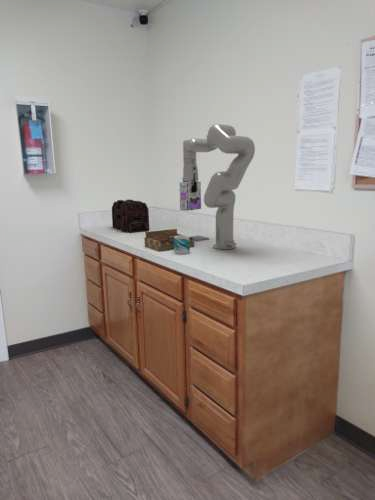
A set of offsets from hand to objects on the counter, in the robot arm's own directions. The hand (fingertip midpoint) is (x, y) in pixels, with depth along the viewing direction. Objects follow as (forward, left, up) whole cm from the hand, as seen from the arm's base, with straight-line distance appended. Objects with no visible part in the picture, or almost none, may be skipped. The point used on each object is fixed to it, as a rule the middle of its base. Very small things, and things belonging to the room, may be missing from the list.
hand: (190, 192), depth 236 cm
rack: (-10, +21, -29) cm, 37 cm away
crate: (+65, +12, -29) cm, 72 cm away
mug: (-27, +23, -29) cm, 46 cm away
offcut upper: (-17, +21, -26) cm, 37 cm away
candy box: (0, 0, -11) cm, 11 cm away
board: (0, 0, -29) cm, 29 cm away
